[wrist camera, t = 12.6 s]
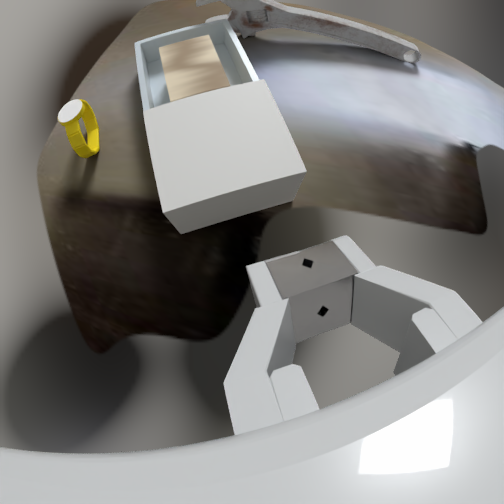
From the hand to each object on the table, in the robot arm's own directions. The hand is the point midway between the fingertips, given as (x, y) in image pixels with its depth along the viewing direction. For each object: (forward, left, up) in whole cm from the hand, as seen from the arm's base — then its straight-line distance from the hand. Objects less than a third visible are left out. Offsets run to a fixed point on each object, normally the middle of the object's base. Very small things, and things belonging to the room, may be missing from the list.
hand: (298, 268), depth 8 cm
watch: (+12, -20, -16) cm, 28 cm away
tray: (0, -22, -16) cm, 27 cm away
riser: (0, -11, -16) cm, 19 cm away
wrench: (-17, -27, -16) cm, 36 cm away
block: (0, -16, -13) cm, 20 cm away
